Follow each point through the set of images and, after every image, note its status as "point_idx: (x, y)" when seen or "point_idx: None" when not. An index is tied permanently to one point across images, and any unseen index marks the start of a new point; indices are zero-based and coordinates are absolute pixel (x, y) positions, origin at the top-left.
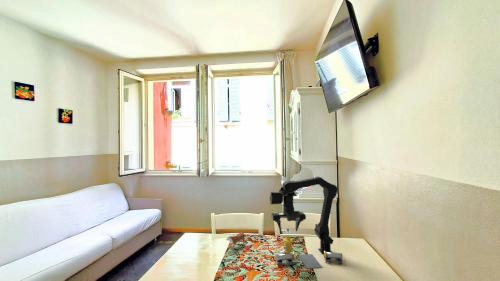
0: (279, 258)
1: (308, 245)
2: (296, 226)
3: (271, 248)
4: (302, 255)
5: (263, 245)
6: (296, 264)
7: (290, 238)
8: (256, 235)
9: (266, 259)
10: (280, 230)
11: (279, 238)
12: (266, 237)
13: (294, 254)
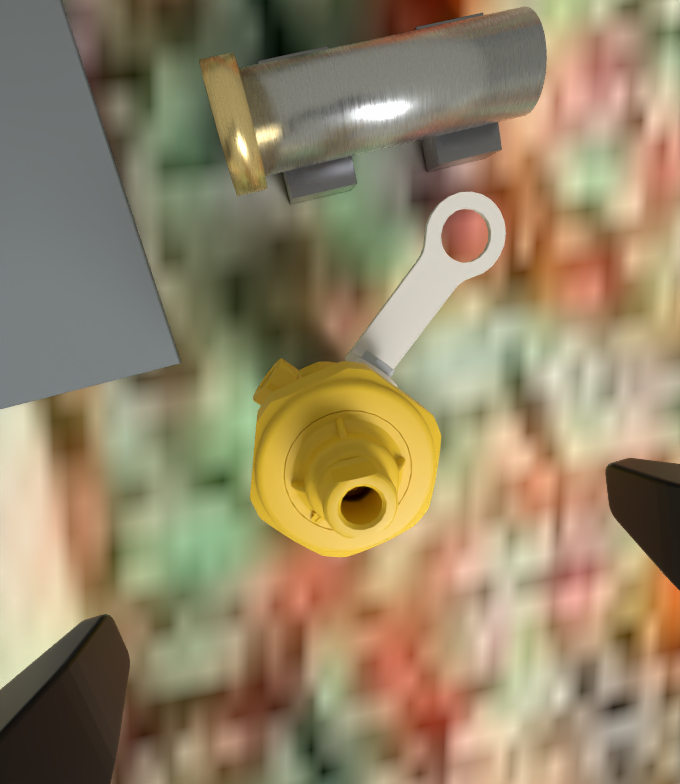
0: (475, 17)
1: None
2: (21, 778)
3: (523, 499)
4: (119, 352)
5: (612, 557)
6: None
7: (295, 520)
8: (671, 776)
9: (599, 196)
10: (664, 466)
11: (418, 766)
12: (566, 755)
13: (221, 68)
